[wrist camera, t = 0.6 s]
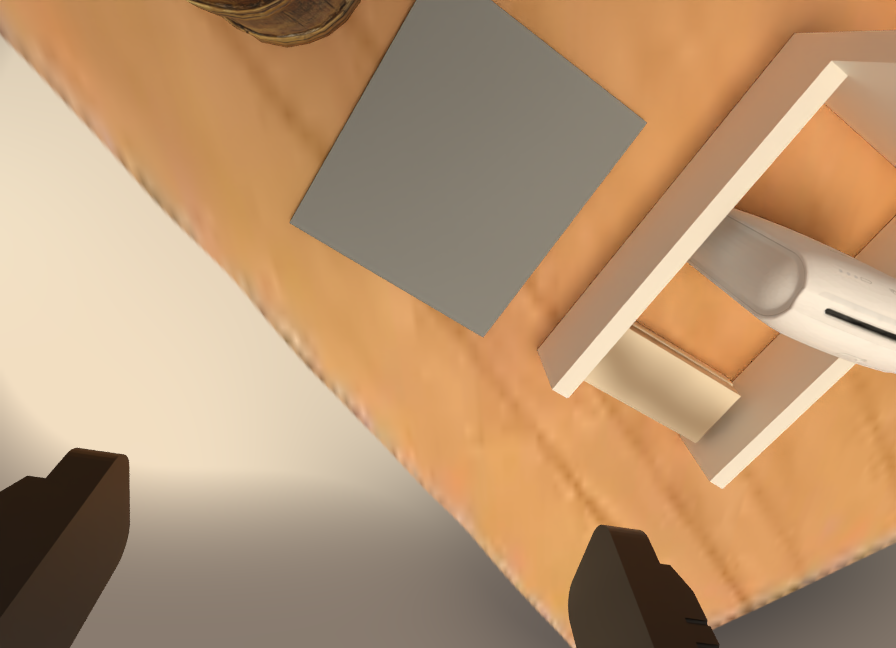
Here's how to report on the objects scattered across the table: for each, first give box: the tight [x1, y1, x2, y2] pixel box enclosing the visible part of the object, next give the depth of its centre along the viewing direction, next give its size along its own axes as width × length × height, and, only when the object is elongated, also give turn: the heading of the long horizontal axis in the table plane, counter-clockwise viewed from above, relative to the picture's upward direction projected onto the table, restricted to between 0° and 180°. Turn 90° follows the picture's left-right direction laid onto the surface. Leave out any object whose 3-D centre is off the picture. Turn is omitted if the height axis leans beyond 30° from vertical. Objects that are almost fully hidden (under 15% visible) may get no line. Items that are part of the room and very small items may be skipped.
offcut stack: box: [584, 321, 741, 443], centre depth 40 cm, size 5×11×3 cm, turn 58°
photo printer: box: [687, 208, 896, 374], centre depth 32 cm, size 10×4×12 cm, turn 69°
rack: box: [537, 30, 896, 489], centre depth 33 cm, size 23×14×10 cm, turn 146°
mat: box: [290, 0, 647, 337], centre depth 34 cm, size 16×14×1 cm
